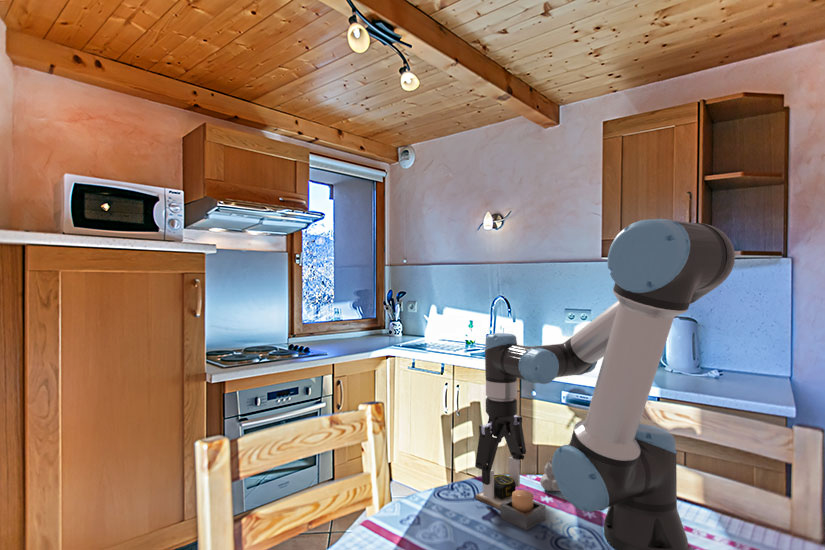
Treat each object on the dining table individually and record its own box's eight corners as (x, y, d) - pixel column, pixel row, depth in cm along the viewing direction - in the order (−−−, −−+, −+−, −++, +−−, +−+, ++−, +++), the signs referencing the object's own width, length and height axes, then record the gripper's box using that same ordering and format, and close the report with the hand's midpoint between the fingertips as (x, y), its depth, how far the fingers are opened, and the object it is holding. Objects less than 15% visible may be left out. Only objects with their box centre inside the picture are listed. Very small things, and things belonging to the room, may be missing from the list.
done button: (537, 508, 102) (537, 495, 102) (525, 515, 99) (525, 501, 99) (520, 501, 106) (520, 488, 106) (507, 507, 103) (507, 494, 103)
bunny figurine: (556, 484, 120) (556, 453, 120) (568, 496, 113) (568, 463, 113) (536, 486, 119) (536, 454, 119) (547, 497, 112) (547, 464, 112)
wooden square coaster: (528, 499, 111) (528, 496, 111) (505, 512, 105) (505, 508, 105) (499, 487, 118) (499, 483, 118) (475, 498, 112) (475, 494, 112)
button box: (545, 519, 102) (545, 505, 102) (526, 530, 97) (526, 516, 97) (519, 508, 107) (519, 495, 107) (500, 518, 103) (500, 504, 103)
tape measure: (481, 492, 114) (481, 476, 114) (503, 486, 117) (503, 471, 117) (499, 503, 107) (499, 487, 108) (521, 497, 111) (521, 481, 111)
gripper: (516, 388, 122) (516, 473, 122) (458, 402, 108) (459, 499, 107) (540, 393, 116) (541, 483, 116) (483, 408, 102) (484, 511, 102)
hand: (501, 490), depth 112 cm, fingers open, 9 cm apart
